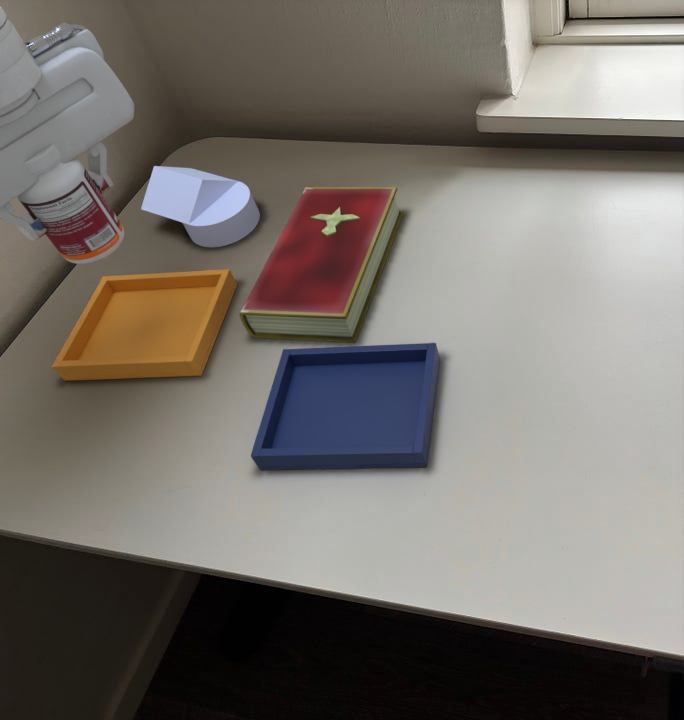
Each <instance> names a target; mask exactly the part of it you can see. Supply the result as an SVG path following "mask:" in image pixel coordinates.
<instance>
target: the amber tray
mask: <svg viewBox="0 0 684 720" xmlns="http://www.w3.org/2000/svg"><path fill="white" fill-rule="evenodd" d="M237 286H238V281H236V278H235V276H234V275H233V273H232V271H231V269H229V268H227V269H226V268H225V269H209V270H208V269H207V270H192V271H176V272H175V271H174V272H159V273H158V272H157V273H142V274H141V273H140V274H139V273H138V274H121V275H104V276H102V277H101V279H100V281H99V282H98V285H97V286H96V288H95V289H94V292H93V293H92V295H91V297H90V299H89V300H88V302H87V303H86V305H85V307H84V309H83V311H82V312H81V314H80V317H79V318H78V320H77V321H76V324H75V325H74V327H73V328H72V330H71V332H70V334H69V336H68V337H67V339H66V340H65V342H64V344H63V346H62V347H61V349H60V351H59V353H58V355H57V356H56V358H55V360H54V361H53V364H52V365H51V368H52V369H53V370H54V371H55V372H56V373H57V375H59V376H60V377H61V378H62V380H63V381H65V382H67V381H68V382H70V381H71V382H72V381H93V380H120V379H122V380H123V379H145V378H147V379H148V378H170V377H171V378H173V377H174V378H175V377H177V378H178V377H201V376H203V373H204V371H205V368H206V365H207V364H208V360H209V358H210V356H211V353H212V350H213V348H214V345H215V343H216V341H217V337H218V335H219V332H220V330H221V328H222V325H223V322H224V320H225V318H226V315H227V312H228V310H229V307H230V305H231V302H232V299H233V297H234V294H235V292H236V289H237Z"/></svg>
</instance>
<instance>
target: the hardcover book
mask: <svg viewBox="0 0 684 720" xmlns="http://www.w3.org/2000/svg"><path fill="white" fill-rule="evenodd" d="M397 192H398V186H305V187H304V190H303V192H302V193H301V195H300V197H299V199H298V201H297V202H296V205H295V206H294V209H293V210H292V212H291V214H290V216H289V218H288V220H287V222H286V224H285V226H284V227H283V229H282V231H281V234H280V236H279V237H278V239H277V241H276V243H275V245H274V247H273V249H272V250H271V252H270V254H269V257H268V258H267V261H266V262H265V263H264V266H263V268H262V270H261V272H260V273H259V275H258V277H257V279H256V281H255V283H254V285H253V287H252V289H251V291H250V293H249V294H248V295H247V298H246V300H245V302H244V304H243V305H242V307H241V310H240V311H239V318H240V321H241V323H242V325H243V327H244V328H245V330H246V331H247V332H248V334H249V335H250V336H251V337H252V338H255V339H270V340H271V339H272V340H273V339H274V340H293V341H313V342H332V343H333V342H335V343H357V340H358V338H359V335H360V332H361V329H362V327H363V325H364V324H363V323H364V321H365V318H366V316H367V314H368V311H369V308H370V305H371V303H372V300H373V297H374V295H375V291H376V290H377V286H378V283H379V281H380V278H381V276H382V272H383V270H384V267H385V265H386V262H387V259H388V257H389V254H390V252H391V249H392V247H393V243H394V240H395V237H396V235H397V233H398V230H399V227H400V224H401V221H402V219H403V216H404V210H399V207H398V204H397V200H396V194H397Z"/></svg>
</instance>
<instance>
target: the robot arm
mask: <svg viewBox="0 0 684 720" xmlns="http://www.w3.org/2000/svg"><path fill="white" fill-rule="evenodd" d="M135 109H136V107H135V103H134V100H133V99H132V97H131V96H130V94H129V92H128V91H127V89H126V87H125V86H124V85H123V83H122V81H121V80H120V79H119V78H118V76H117V75H116V73H115V72H114V71H113V69H112V68H111V66H109V64H108V62H106V61H105V55H104V52H103V49H102V47H101V46H100V44H99V42H98V40H97V39H96V37H95V35H94V34H93V33H92V31H91V30H90V29H88V28H87V27H85V26H84V25H81V24H70V23H69V22H63V23H60V24H58V25H56V26H54V27H53V28H52V29H51V30H50V31H47V32H45V33H43V34H41V35H37V36H36V37H33V38H32V39H29V40H28V41H26V42H24V40H23V39H22V37H21V35H20V34H19V32H18V31H17V28H16V27H15V26H14V25H13V23H12V20H11V19H10V17H9V16H7V13H6V12H5V10H4V8H3V7H2V6H1V5H0V220H2V221H3V222H6V223H9V224H11V225H14V226H16V227H17V228H18V230H19V231H20V232H21V233H22V235H23V236H24V237H26V239H28V240H30V241H32V242H34V243H35V242H37V241H39V239H41V238H42V237H43V236H46V233H47V232H48V230H47V229H46V228H45V227H43V223H42V222H41V221H40V219H39V218H37V217H35V216H32V215H31V214H29V212H27V213H25V214H23V215H22V216H20V217H19V216H17V215H14V214H13V213H14V212H15V211H16V208H15V207H14V206H13V204H12V203H11V201H13V200H14V199H16V198H17V196H18V195H20V194H21V193H23V192H24V191H26V190H27V189H29V188H30V187H32V186H33V185H35V184H36V183H37V182H38V181H39V174H38V175H35V176H34V175H33V174H31V173H30V171H29V170H28V168H27V167H26V166H25V164H24V162H25V161H27V160H28V159H30V158H31V157H33V156H35V155H36V154H38V153H39V152H41V151H42V150H44V149H45V148H47V147H48V146H50V145H51V144H54V145H55V146H56V148H57V149H58V150H59V152H60V153H61V159H60V160H59V161H60V162H61V163H63V164H64V163H68V162H70V161H71V160H73V159H74V158H77V157H79V156H81V155H82V154H83V153H84V154H86V156H87V164H88V165H87V166H88V171H87V173H88V174H89V176H90V177H91V179H92V180H93V182H94V183H95V185H96V186H97V188H98V189H99V191H100V192H101V194H102V195H103V194H104V193H106V191H108V190H110V189H111V188H113V187H114V185H115V184H114V182H113V180H112V178H111V177H110V175H109V173H108V172H107V170H108V162H107V161H108V150H107V147H105V144H104V142H103V140H104V139H106V138H107V137H109V136H110V135H112V134H113V133H115V132H117V131H118V130H120V129H121V128H123V127H124V126H126V125H127V124H128V123H130V122H132V121H133V120H134V118H135Z"/></svg>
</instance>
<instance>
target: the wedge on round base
mask: <svg viewBox="0 0 684 720" xmlns="http://www.w3.org/2000/svg"><path fill="white" fill-rule="evenodd" d="M140 210H141V211H145V212H148V213H151V214H154V215H158V216H161V217H164V218H167V219H171V220H173V221H176V222H180V223H182V225H183V227H184V229H185V230H186V232H187V235H188V236H189V238H190V239H191V241H192V242H193V243H194V244H196V245H197V246H200V247H203V248H221V247H225V246H228V245H231V244H235V243H236V242H238V241H240V240H242V239H244V238H245V237H247V236H248V235H250V234H251V233H252V232H253V231H254V230H255V228H256V226H258V224H259V222H260V218H261V214H260V211H259V208H258V206H257V204H256V201H255V199H254V197H253V195H252V192H251V191H250V188H249V187H248V186H247V184H246V183H244V182H243V181H239V180H235V179H232V178H229V177H225V176H221V175H217V174H215V173H214V174H213V173H210V172H207V171H203V170H198V169H197V168H196V169H195V168H193V167H180V166H179V167H177V166H161V165H154V166H153V168H152V171H151V175H150V178H149V181H148V184H147V188H146V191H145V194H144V198H143V201H142V204H141V208H140Z"/></svg>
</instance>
